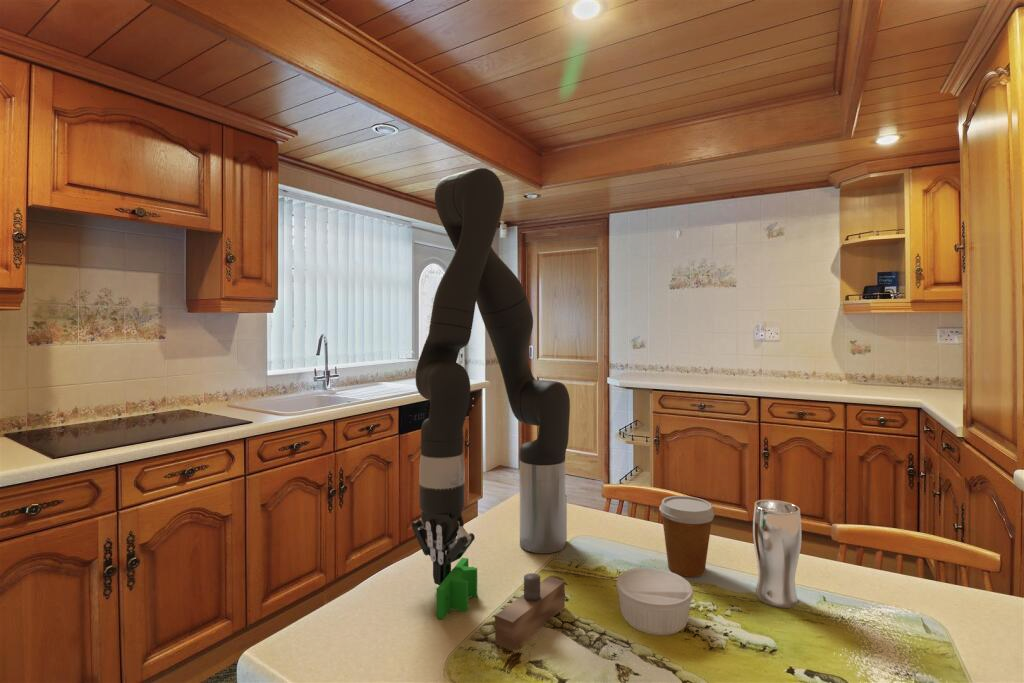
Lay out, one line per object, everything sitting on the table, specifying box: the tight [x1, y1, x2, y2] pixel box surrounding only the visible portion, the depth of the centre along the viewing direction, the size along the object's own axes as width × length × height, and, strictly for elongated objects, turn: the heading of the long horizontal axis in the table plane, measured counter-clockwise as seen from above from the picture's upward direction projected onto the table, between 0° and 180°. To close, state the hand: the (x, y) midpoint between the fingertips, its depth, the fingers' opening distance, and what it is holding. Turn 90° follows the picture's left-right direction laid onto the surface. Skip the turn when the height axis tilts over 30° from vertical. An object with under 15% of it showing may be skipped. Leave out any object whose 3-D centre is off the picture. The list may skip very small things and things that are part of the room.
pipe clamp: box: [436, 557, 478, 620], centre depth 83 cm, size 11×4×5 cm, turn 165°
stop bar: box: [494, 573, 566, 652], centre depth 76 cm, size 14×3×7 cm, turn 144°
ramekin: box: [615, 567, 694, 636], centre depth 78 cm, size 11×11×5 cm
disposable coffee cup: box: [658, 495, 716, 578], centre depth 94 cm, size 10×10×12 cm
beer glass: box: [752, 499, 803, 609], centre depth 84 cm, size 7×7×15 cm
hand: (441, 583), depth 87 cm, fingers closed
